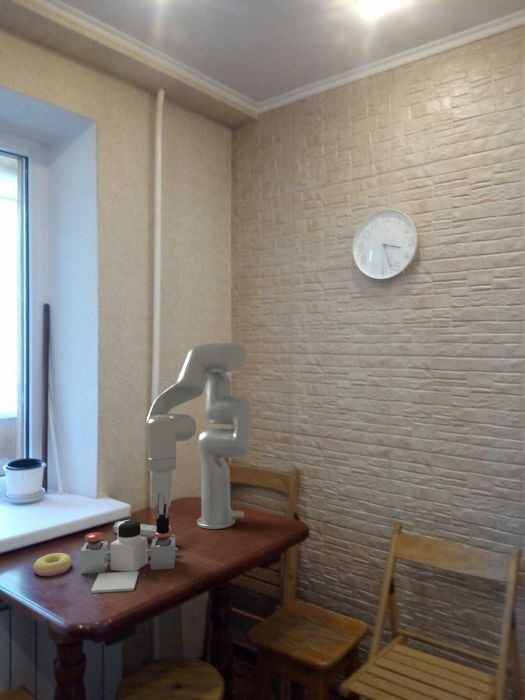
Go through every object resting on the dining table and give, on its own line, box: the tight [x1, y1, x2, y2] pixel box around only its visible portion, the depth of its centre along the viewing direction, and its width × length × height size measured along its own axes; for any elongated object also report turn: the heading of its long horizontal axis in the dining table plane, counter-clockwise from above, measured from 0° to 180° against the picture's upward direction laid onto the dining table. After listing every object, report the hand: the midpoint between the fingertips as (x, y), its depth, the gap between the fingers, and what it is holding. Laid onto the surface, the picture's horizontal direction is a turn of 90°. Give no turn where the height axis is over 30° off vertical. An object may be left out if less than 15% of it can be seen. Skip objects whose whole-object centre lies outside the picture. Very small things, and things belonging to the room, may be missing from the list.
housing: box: [79, 538, 179, 575], centre depth 145 cm, size 25×10×6 cm, turn 97°
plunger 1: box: [84, 531, 104, 549], centre depth 142 cm, size 5×5×8 cm
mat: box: [90, 570, 139, 594], centre depth 133 cm, size 10×10×1 cm
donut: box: [33, 552, 73, 577], centre depth 142 cm, size 10×5×9 cm
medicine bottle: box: [109, 519, 149, 572], centre depth 143 cm, size 7×7×12 cm
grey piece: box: [112, 520, 176, 539], centre depth 164 cm, size 5×7×25 cm
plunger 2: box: [154, 529, 173, 545], centre depth 144 cm, size 5×5×8 cm
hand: (162, 531), depth 144 cm, fingers closed
